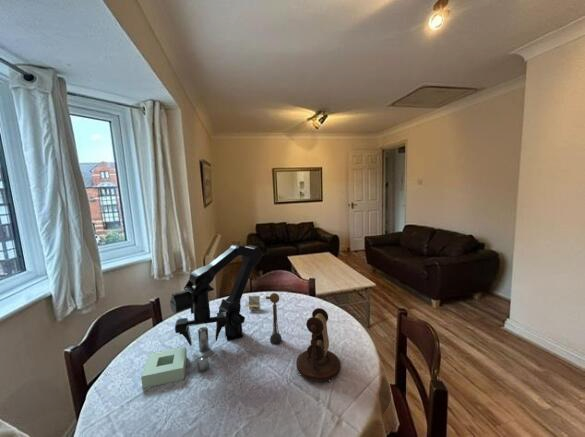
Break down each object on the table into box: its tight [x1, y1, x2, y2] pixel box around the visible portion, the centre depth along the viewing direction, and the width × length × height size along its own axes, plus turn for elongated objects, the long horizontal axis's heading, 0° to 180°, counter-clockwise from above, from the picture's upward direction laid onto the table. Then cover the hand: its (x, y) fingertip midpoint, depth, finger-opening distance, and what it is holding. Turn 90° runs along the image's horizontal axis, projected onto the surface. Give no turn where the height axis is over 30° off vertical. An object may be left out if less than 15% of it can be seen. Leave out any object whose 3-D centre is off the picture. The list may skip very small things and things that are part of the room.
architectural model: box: [244, 295, 261, 312], centre depth 132 cm, size 3×7×7 cm, turn 87°
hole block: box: [141, 346, 188, 389], centre depth 89 cm, size 12×12×4 cm
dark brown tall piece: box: [295, 307, 342, 382], centre depth 87 cm, size 15×15×20 cm
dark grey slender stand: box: [265, 292, 283, 346], centre depth 104 cm, size 6×5×20 cm
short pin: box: [196, 354, 210, 374], centre depth 90 cm, size 4×4×4 cm
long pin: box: [197, 326, 210, 353], centre depth 101 cm, size 4×4×8 cm
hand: (203, 342), depth 101 cm, fingers open, 9 cm apart
